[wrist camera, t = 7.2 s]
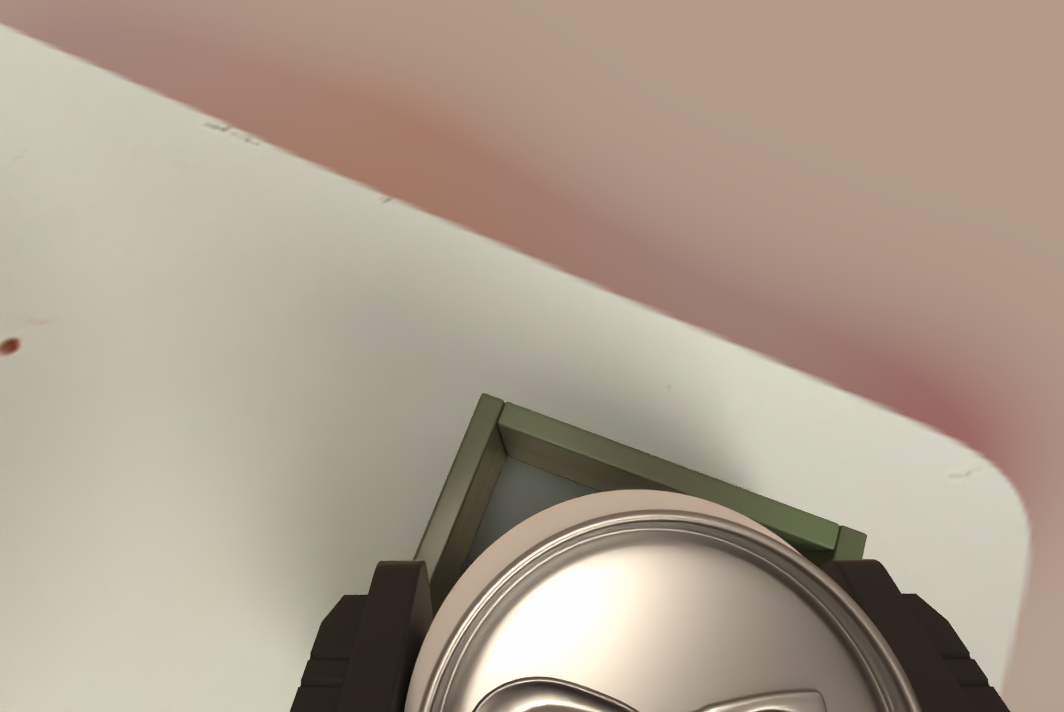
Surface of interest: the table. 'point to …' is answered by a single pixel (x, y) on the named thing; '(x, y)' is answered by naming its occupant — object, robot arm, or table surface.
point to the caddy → (596, 467)
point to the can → (651, 620)
